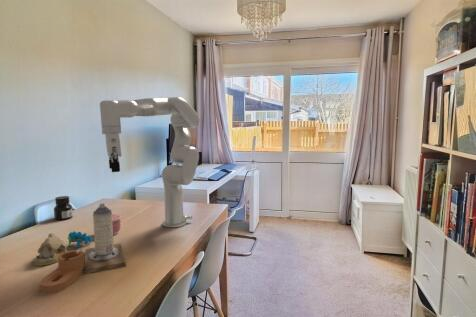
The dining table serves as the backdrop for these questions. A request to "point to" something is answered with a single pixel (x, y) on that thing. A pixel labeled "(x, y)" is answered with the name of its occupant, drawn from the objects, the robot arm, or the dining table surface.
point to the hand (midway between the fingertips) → (114, 170)
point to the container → (116, 223)
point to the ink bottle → (62, 208)
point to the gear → (78, 238)
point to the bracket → (64, 272)
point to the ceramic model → (50, 250)
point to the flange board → (104, 260)
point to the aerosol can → (103, 231)
